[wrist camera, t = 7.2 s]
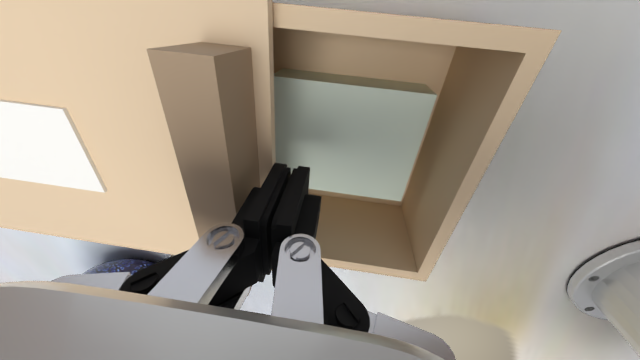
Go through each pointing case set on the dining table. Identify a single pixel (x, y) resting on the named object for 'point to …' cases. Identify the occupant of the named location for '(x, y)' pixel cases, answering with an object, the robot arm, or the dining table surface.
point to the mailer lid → (133, 117)
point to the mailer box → (395, 123)
